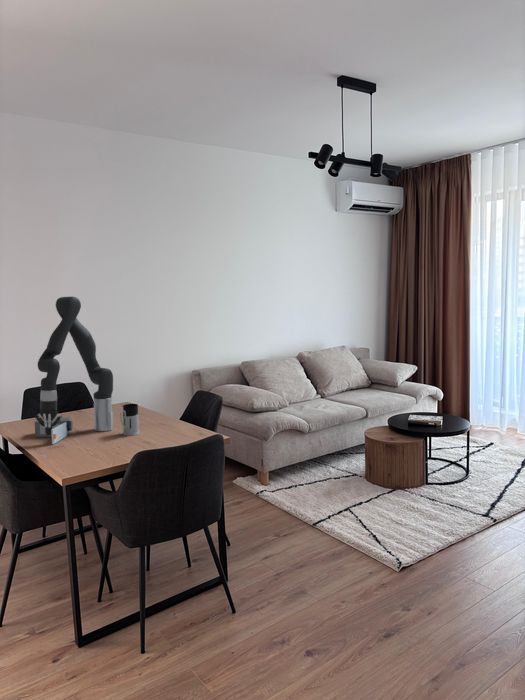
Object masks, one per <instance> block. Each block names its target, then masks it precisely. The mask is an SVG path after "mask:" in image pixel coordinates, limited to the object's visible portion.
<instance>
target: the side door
mask: <svg viewBox="0 0 525 700" xmlns="http://www.w3.org/2000/svg"><path fill="white" fill-rule="evenodd" d="M51 434H52V437H51V445H54V444H56V443H58V442H59V441H61V440H63V439H64V438H66V437H67V436H68V435H67V427H66V422H65V423H63V424H61V425H59V426H57V427H55V428H54V429H52V430H51Z"/></svg>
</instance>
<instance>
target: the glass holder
mask: <svg viewBox="0 0 525 700" xmlns="http://www.w3.org/2000/svg"><path fill="white" fill-rule="evenodd" d="M119 415H120V422H121V425H122V427H123V428H122V429H123V430H122V435H123V436H126V435H127V436H130V437H131V435H132V436H138V435H140V434H139V433H140V427H139V426H140V423H139V404H137V403H127V404H126V403H125V404H123V405H122V410H121V412H120V414H119ZM137 434H138V435H137Z"/></svg>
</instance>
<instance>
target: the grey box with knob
mask: <svg viewBox="0 0 525 700" xmlns="http://www.w3.org/2000/svg"><path fill="white" fill-rule="evenodd" d="M41 418H42V417H41ZM42 419H43V418H42ZM55 420H56V417H55V418H54V420H53V423H54V421H55ZM43 421H44V419H43ZM65 422H66V427H67V436H68V435H69V434H70V433H71V431H73V427H74V426H73V425H74V423H73V422H74V421H72V420H71V416H62V418H61V419H60V421H59V422H58V423H57V424H56V425H55V426H53V427H52V429H54V428H55V427H57V426H59V425H61V424H63V423H65ZM34 437H35V438H52V434H51V435H46V433H45V427H44V426H41V424H40V423H39V422H38V420H37V419H36V420H35V421H34Z"/></svg>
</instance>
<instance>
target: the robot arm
mask: <svg viewBox="0 0 525 700" xmlns="http://www.w3.org/2000/svg"><path fill="white" fill-rule="evenodd" d="M55 308H56V309H55V310H56V311H57V313H58V315H59V317H60V318H61V320H60V323H59V324H58V325H57V326H56V328H55V329H54V330H53V332H52V333H51V334H50V337H49V340H48V343H47V344H46V348H45V349H44V351H43V352H42V354H41V355H40V356H39V359H38V361H37V369H38V371H40V372H41V373H47V374H46V375H45V377H43V378H41V380H40V400H39V402H40V406H39V408H40V411H39V413H38V414H37V415H35V416H34V417H35V419H36V420H38V422H39V423H40V424H41V426H44V427H45V433H46V435H51V430H52V427H53V426H55V425H56V424H57V423H58V422H59V421H60V419H61V418H62V417H63V415H60V414H59V412H58V392H57V381H58V378H59V373H60V370H61V365H60V362H59V360H58V359H57V358H55V357H56V356H59V355H61V353H62V351H63V349H64V345H65V341H66V340H67V336H68V335H69V334H70V336H71V338H72V340H73V343H74V345H75V346H76V349H77V351H78V353H79V355H80V357H81V360H82V361H83V364H84V366H85V368H86V372H87V374H88V377H89V380H90V381H91V383H93V384H94V385H98V388H97V391H94V392H93V420H94V421H93V422H94V431H95V432H107V431H112V430H113V429H114V412H113V404H112V401H113V399H112V395H113V391H114V375H113V372H112V370H111V369H109V368H106V367H101V365H100V364H99V361H98V360H97V357H96V355H97V353H96V352H97V351H96V350H97V345H96V342H95V340H94V338H93V335H92V334H91V332H90V331H89V330H88V329H87V328H86V327H85V326H84V324H82V323H81V322H80V321H79V319H78V315H79V313H80V310H81V308H82V304H81V300H80V299H79V298H78V297H76V296H61V297H59V298H57V300H56V301H55ZM55 417H56V420H55V421H54V423H53V420H54V418H55ZM42 418H43V419H44V421H43V419H42Z"/></svg>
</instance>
